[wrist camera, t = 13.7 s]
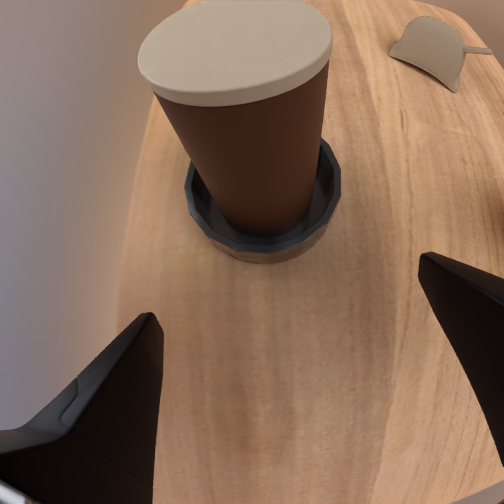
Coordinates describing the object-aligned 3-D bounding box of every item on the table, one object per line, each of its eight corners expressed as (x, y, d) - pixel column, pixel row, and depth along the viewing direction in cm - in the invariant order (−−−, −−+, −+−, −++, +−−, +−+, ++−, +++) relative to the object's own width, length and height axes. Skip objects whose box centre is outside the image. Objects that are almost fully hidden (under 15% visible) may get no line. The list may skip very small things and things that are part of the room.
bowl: (355, 239, 16) (365, 224, 14) (215, 282, 17) (202, 273, 14) (306, 127, 19) (307, 103, 16) (187, 162, 19) (175, 141, 17)
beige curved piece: (400, 39, 21) (410, -2, 15) (474, 83, 18) (494, 46, 13) (386, 55, 20) (397, 9, 15) (468, 103, 18) (492, 63, 13)
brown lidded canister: (332, 189, 17) (369, 26, 6) (267, 259, 16) (226, 128, 6) (262, 138, 18) (234, -18, 8) (197, 197, 18) (107, 58, 7)
